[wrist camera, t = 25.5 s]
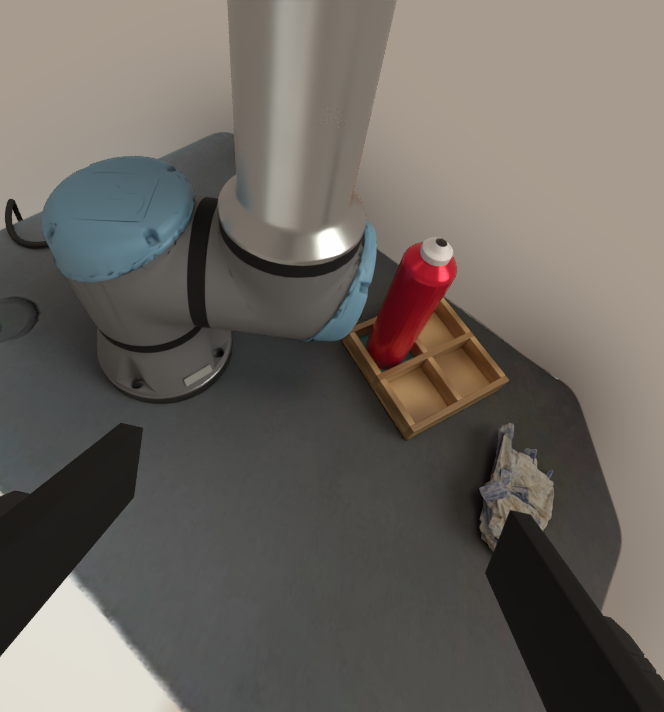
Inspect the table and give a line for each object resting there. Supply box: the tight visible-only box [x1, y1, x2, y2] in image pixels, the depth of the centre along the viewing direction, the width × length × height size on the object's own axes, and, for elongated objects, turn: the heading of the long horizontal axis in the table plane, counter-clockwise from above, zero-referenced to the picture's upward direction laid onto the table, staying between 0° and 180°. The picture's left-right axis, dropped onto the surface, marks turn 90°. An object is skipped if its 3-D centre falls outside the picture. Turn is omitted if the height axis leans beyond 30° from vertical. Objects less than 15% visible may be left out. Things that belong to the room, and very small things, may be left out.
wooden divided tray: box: [342, 298, 509, 441], centre depth 54 cm, size 15×15×3 cm
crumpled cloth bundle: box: [479, 423, 554, 552], centre depth 47 cm, size 15×8×4 cm, turn 149°
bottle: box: [365, 237, 457, 370], centre depth 46 cm, size 5×5×20 cm
